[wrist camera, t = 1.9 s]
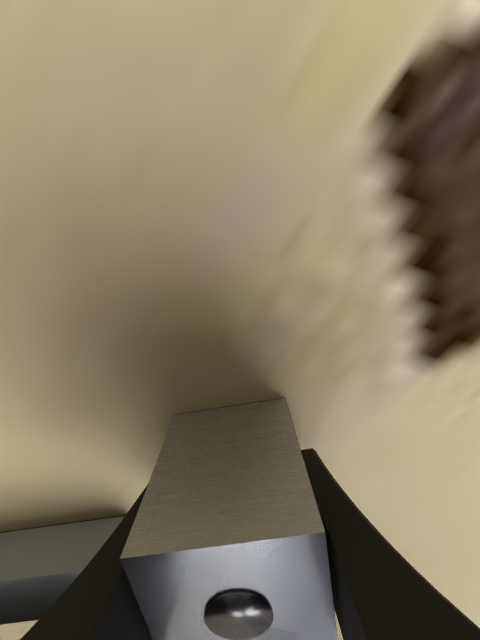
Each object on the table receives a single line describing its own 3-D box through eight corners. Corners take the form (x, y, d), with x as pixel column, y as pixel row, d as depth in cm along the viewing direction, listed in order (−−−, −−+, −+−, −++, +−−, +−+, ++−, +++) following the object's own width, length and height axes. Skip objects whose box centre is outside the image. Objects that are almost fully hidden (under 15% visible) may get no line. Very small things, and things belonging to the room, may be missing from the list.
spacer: (297, 486, 11) (340, 664, 7) (198, 499, 12) (168, 683, 7) (284, 398, 10) (326, 535, 5) (174, 414, 10) (118, 562, 6)
